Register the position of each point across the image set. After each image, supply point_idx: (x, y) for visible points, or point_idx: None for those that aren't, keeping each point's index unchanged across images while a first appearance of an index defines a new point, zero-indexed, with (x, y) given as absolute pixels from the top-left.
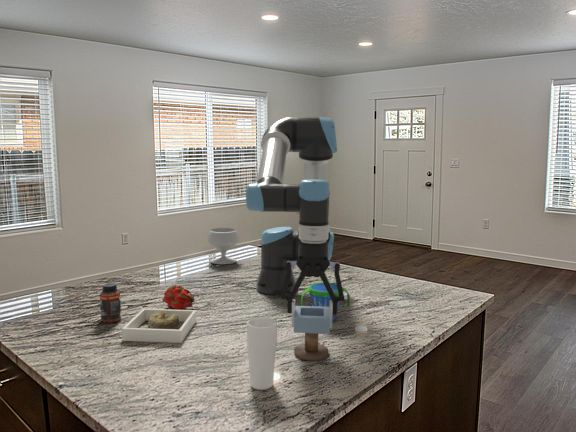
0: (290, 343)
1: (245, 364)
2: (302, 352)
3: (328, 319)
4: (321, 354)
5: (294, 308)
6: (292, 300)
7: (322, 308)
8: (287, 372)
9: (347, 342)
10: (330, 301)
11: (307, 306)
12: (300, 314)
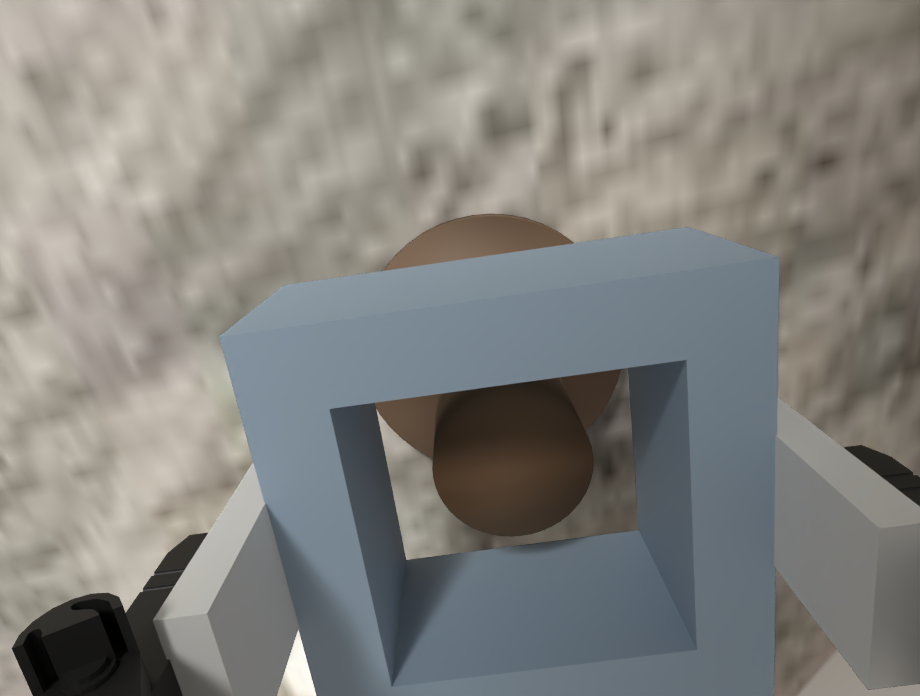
0: (290, 191)
1: (113, 580)
2: (433, 410)
3: (750, 690)
4: (575, 409)
5: (279, 675)
6: (178, 674)
7: (667, 359)
8: None
9: (774, 47)
10: (892, 581)
11: (418, 331)
12: (369, 540)
